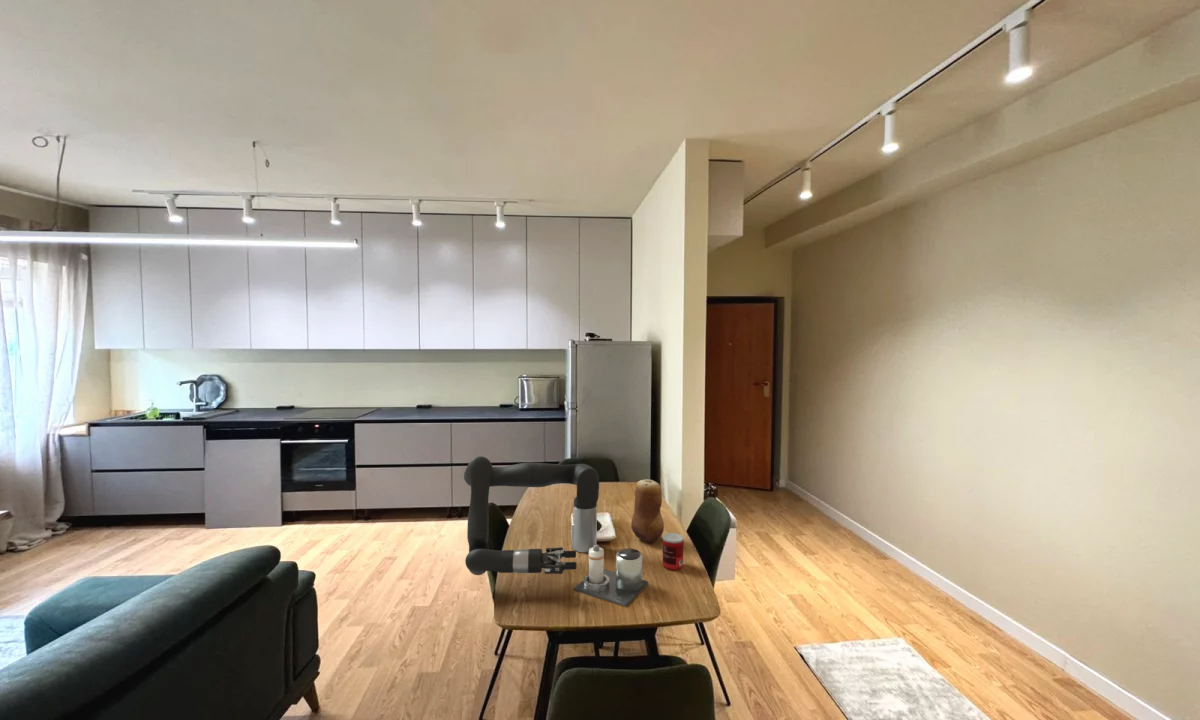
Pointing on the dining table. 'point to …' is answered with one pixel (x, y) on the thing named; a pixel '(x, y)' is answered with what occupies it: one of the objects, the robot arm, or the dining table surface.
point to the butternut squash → (647, 511)
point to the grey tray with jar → (618, 579)
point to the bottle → (596, 565)
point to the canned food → (672, 551)
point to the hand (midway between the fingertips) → (576, 559)
